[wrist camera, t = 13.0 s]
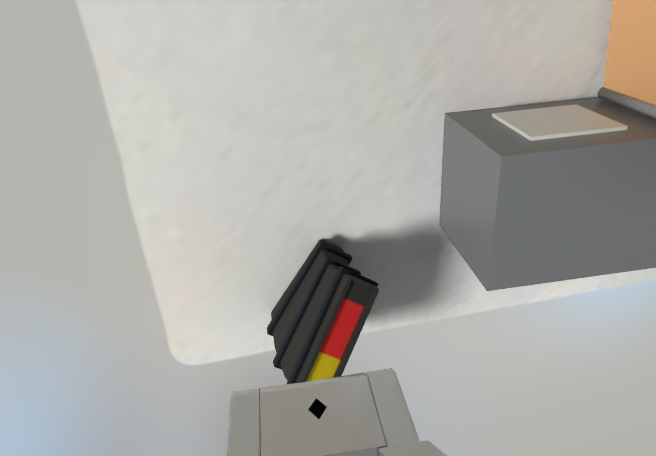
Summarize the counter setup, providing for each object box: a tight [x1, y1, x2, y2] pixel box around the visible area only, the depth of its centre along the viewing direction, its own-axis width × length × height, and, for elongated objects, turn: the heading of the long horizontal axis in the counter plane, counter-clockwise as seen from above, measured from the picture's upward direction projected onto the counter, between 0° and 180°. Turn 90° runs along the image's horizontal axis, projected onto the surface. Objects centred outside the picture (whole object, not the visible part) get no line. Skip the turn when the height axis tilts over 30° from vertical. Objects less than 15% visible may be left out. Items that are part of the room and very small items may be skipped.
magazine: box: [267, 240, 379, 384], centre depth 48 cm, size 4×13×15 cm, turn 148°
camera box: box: [439, 97, 656, 291], centre depth 44 cm, size 12×18×12 cm
